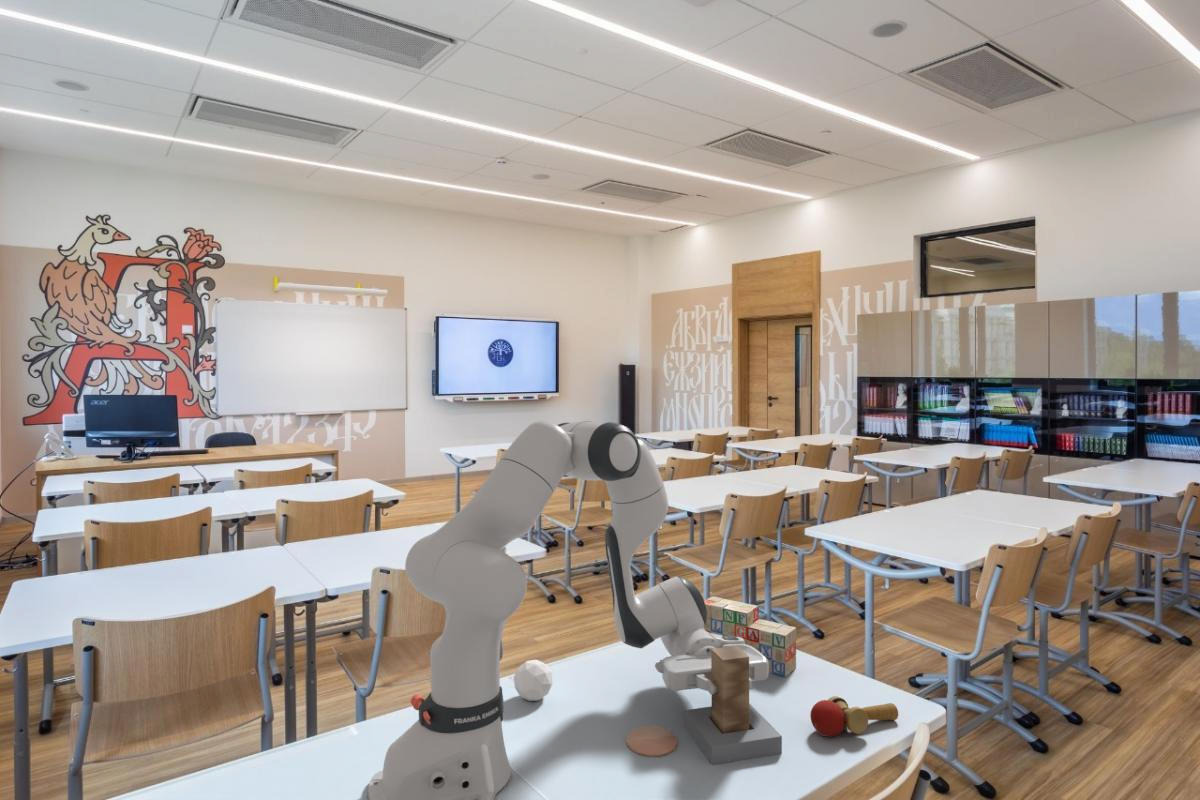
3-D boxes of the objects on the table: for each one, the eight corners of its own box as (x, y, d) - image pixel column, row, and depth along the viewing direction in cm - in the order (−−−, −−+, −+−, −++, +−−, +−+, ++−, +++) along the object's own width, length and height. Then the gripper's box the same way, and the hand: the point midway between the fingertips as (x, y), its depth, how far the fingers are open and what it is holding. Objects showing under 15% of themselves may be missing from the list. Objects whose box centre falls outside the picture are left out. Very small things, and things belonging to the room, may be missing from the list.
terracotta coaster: (643, 762, 115) (643, 758, 115) (617, 737, 123) (617, 734, 123) (687, 747, 120) (687, 744, 120) (659, 724, 128) (659, 721, 128)
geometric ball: (532, 716, 137) (518, 695, 132) (516, 688, 143) (502, 667, 138) (564, 692, 139) (551, 671, 134) (546, 666, 145) (533, 644, 141)
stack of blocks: (797, 668, 152) (797, 613, 151) (785, 678, 147) (785, 622, 146) (712, 645, 165) (712, 595, 165) (699, 653, 160) (698, 602, 160)
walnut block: (723, 738, 119) (722, 660, 119) (711, 724, 124) (711, 648, 123) (749, 734, 120) (749, 656, 120) (736, 720, 125) (736, 646, 125)
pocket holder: (711, 764, 114) (711, 747, 114) (683, 726, 127) (683, 710, 127) (781, 753, 118) (781, 736, 118) (747, 716, 130) (747, 701, 130)
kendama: (873, 714, 133) (797, 719, 127) (881, 685, 132) (805, 688, 126) (902, 741, 126) (823, 747, 120) (911, 710, 125) (832, 715, 119)
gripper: (651, 646, 132) (677, 677, 118) (748, 635, 137) (783, 664, 123) (652, 678, 132) (677, 712, 119) (748, 666, 137) (783, 698, 124)
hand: (732, 687), depth 121 cm, fingers closed on walnut block, 5 cm apart
